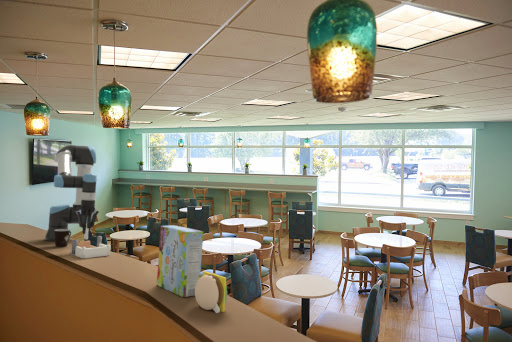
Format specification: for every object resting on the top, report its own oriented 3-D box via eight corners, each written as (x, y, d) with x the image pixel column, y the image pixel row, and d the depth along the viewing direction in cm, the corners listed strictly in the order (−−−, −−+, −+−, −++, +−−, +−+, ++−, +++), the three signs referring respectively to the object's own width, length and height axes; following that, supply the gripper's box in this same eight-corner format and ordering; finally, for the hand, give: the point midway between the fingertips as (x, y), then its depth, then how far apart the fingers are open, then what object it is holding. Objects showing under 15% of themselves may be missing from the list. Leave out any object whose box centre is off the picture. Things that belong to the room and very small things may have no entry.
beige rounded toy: (189, 306, 135) (191, 273, 135) (206, 301, 141) (208, 270, 142) (211, 315, 127) (213, 280, 127) (228, 310, 133) (230, 276, 134)
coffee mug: (57, 248, 223) (58, 231, 223) (50, 246, 228) (51, 229, 228) (76, 246, 232) (77, 230, 232) (69, 244, 237) (70, 228, 237)
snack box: (201, 294, 149) (204, 230, 150) (182, 298, 143) (186, 232, 144) (173, 282, 165) (176, 224, 165) (155, 285, 159) (158, 225, 159)
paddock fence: (68, 254, 209) (69, 238, 209) (98, 250, 221) (99, 235, 222) (79, 258, 198) (80, 242, 199) (110, 255, 211) (111, 239, 211)
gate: (74, 253, 207) (75, 240, 207) (70, 252, 208) (71, 240, 208) (90, 249, 220) (91, 237, 220) (87, 248, 221) (87, 237, 221)
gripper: (79, 200, 214) (77, 241, 213) (101, 200, 223) (99, 239, 223) (74, 199, 219) (71, 238, 219) (96, 198, 228) (93, 236, 228)
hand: (85, 238), depth 221 cm, fingers closed
